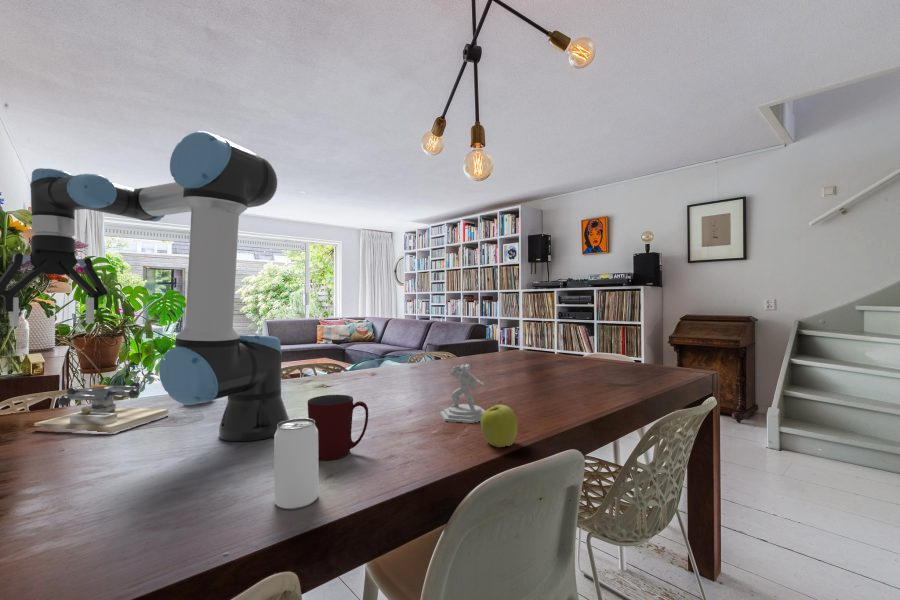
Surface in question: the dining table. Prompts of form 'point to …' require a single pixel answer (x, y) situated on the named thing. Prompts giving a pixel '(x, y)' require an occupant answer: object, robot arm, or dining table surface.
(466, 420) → the figurine
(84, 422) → the stand
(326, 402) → the mug
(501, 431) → the apple
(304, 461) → the can
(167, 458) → the dining table surface
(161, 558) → the dining table surface
